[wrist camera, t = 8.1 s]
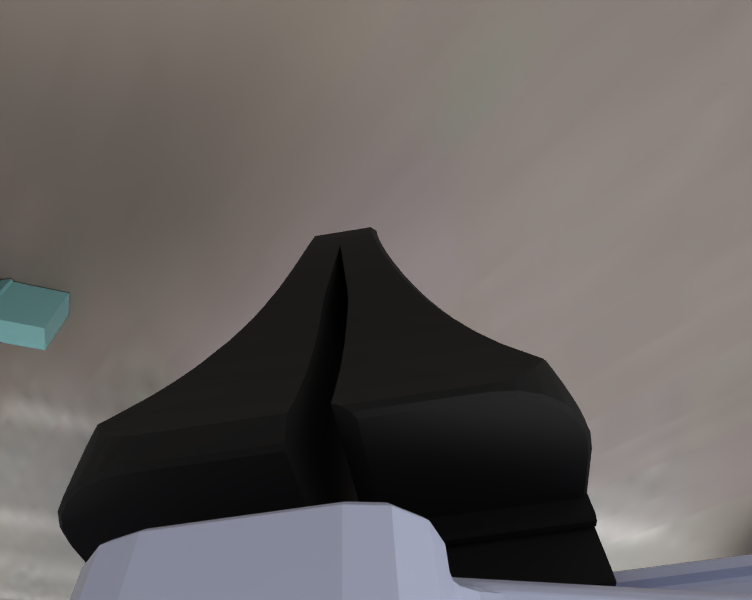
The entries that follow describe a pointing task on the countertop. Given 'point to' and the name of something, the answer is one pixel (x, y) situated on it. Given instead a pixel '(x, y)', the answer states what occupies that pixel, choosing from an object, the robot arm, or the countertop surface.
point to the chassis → (30, 314)
